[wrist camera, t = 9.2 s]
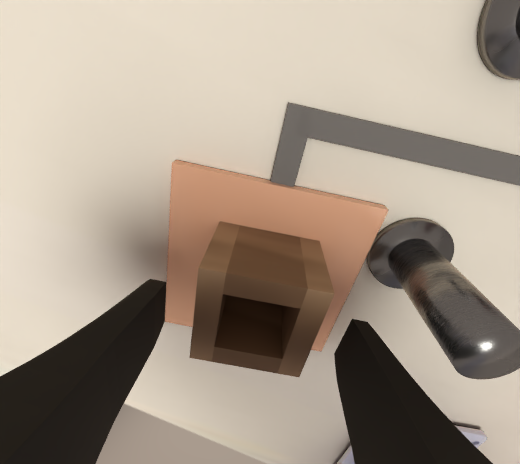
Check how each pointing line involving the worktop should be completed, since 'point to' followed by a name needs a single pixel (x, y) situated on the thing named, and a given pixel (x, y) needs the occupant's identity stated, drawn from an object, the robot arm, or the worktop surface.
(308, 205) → the pad
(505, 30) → the post
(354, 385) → the robot arm
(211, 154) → the worktop surface
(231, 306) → the open wooden crate
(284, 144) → the grey flat l-shaped piece
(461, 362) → the post
